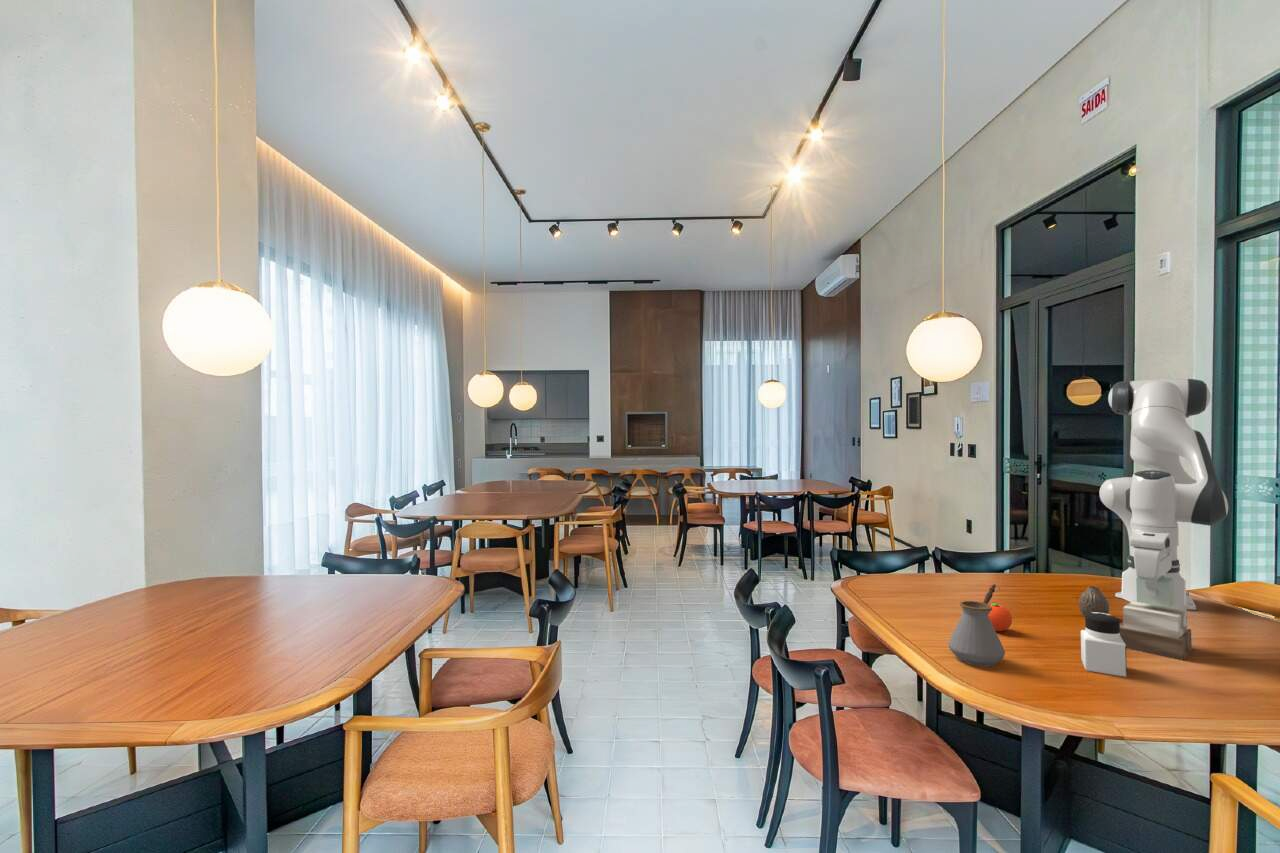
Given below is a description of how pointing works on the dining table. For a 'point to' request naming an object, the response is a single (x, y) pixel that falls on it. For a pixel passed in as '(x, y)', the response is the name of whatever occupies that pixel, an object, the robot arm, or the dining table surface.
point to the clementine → (1000, 617)
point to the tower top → (1155, 619)
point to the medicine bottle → (1103, 645)
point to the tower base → (1157, 643)
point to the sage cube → (1163, 589)
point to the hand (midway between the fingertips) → (1155, 592)
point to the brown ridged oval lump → (1093, 601)
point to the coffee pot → (977, 634)
